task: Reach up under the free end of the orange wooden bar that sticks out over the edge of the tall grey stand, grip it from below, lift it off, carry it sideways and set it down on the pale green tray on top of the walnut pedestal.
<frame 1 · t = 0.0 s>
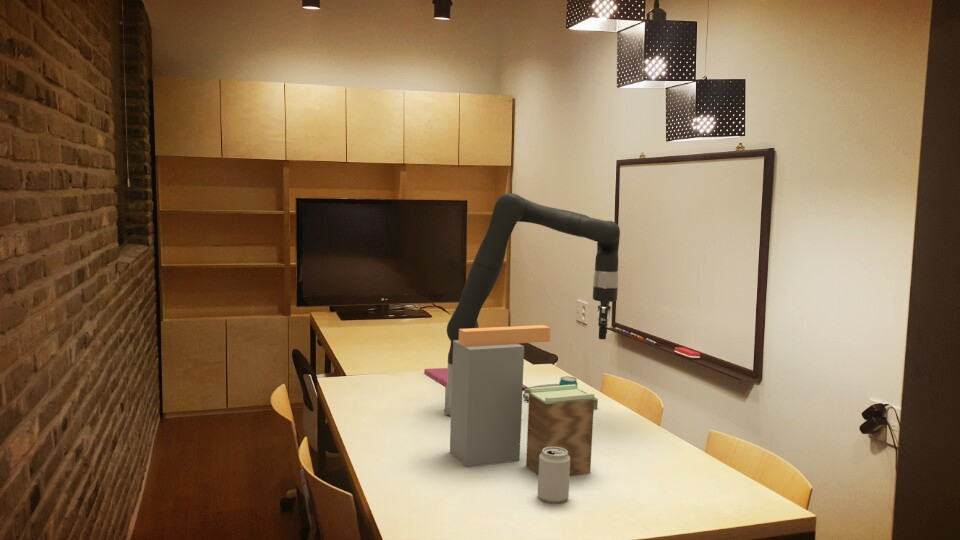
hand: (602, 336, 230), 29 cm above the table, tool pointing down, fingers open, 8 cm apart
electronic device: (557, 405, 258), on the table
grey stand: (484, 456, 205), on the table
green tray: (561, 396, 195), resting on walnut pedestal
orange wooden bar: (504, 342, 203), point 32 cm above the table, touching grey stand
can: (552, 498, 179), on the table
beverage can: (566, 424, 235), on the table
walnut pedestal: (557, 469, 197), on the table
thin magenta plate: (476, 384, 282), on the table
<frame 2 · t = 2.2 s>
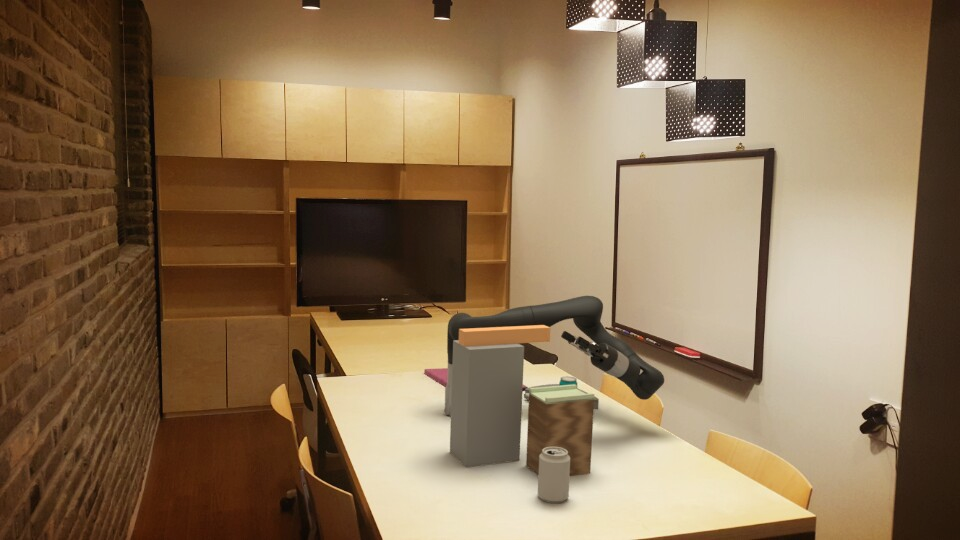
hand: (570, 336, 214), 32 cm above the table, tool pointing upward, fingers open, 8 cm apart
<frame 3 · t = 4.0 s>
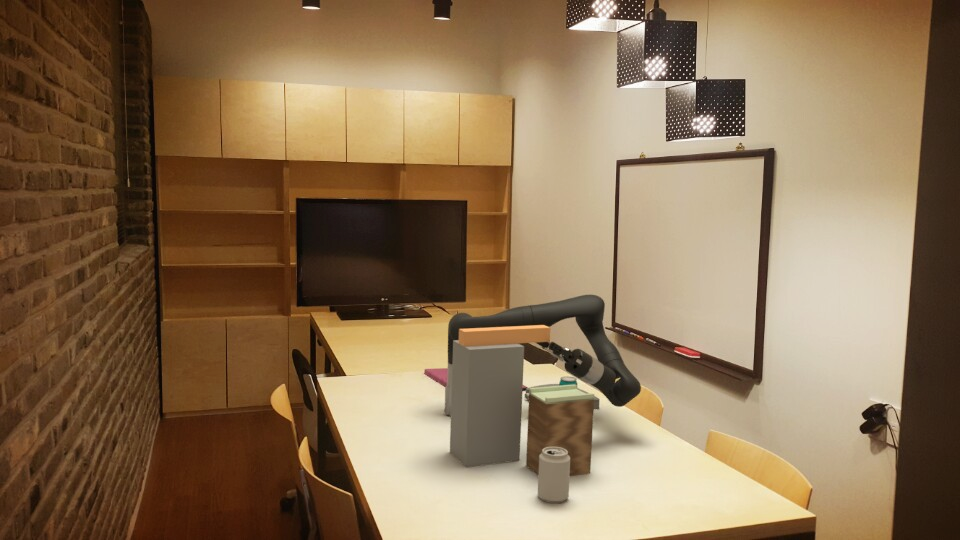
hand: (543, 341, 208), 32 cm above the table, tool pointing upward, fingers open, 8 cm apart
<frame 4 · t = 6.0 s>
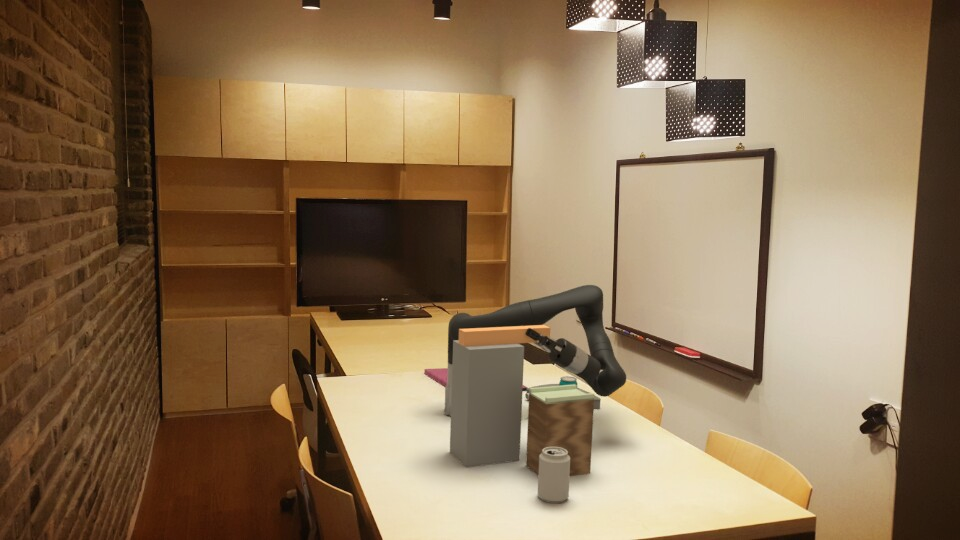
hand: (523, 329, 205), 35 cm above the table, tool pointing upward, fingers closed on orange wooden bar, 4 cm apart
orange wooden bar: (504, 342, 203), point 32 cm above the table, touching grey stand, gripper
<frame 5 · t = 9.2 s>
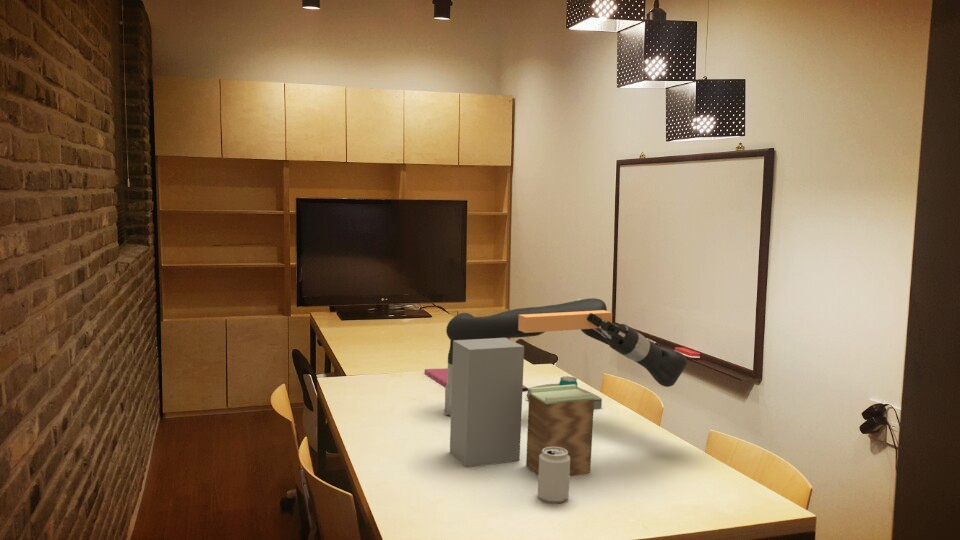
hand: (584, 315, 195), 42 cm above the table, tool pointing upward, fingers closed on orange wooden bar, 4 cm apart
orange wooden bar: (565, 328, 193), point 38 cm above the table, touching gripper
when the fingers open (26 cm above the table, at t = 12.7 s): orange wooden bar drops 2 cm, resting on green tray.
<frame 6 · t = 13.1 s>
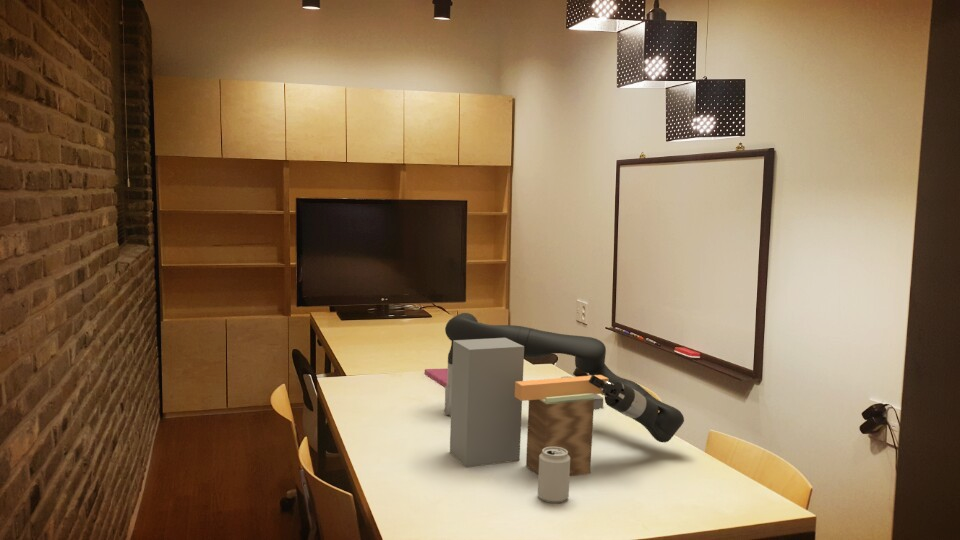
hand: (582, 374, 196), 26 cm above the table, tool pointing upward, fingers open, 8 cm apart
orange wooden bar: (562, 394, 195), point 20 cm above the table, touching green tray
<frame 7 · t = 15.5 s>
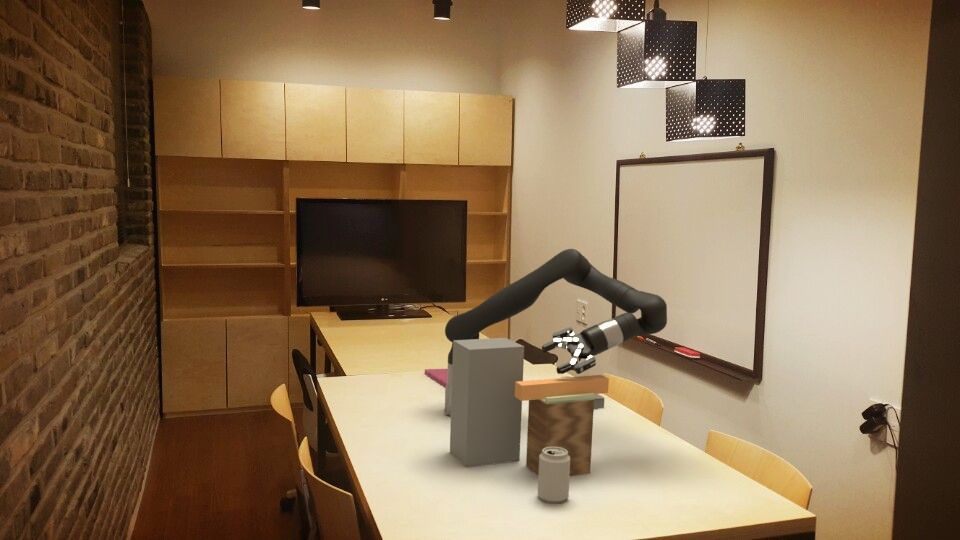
hand: (549, 360, 197), 29 cm above the table, tool tilted 70°, fingers open, 8 cm apart
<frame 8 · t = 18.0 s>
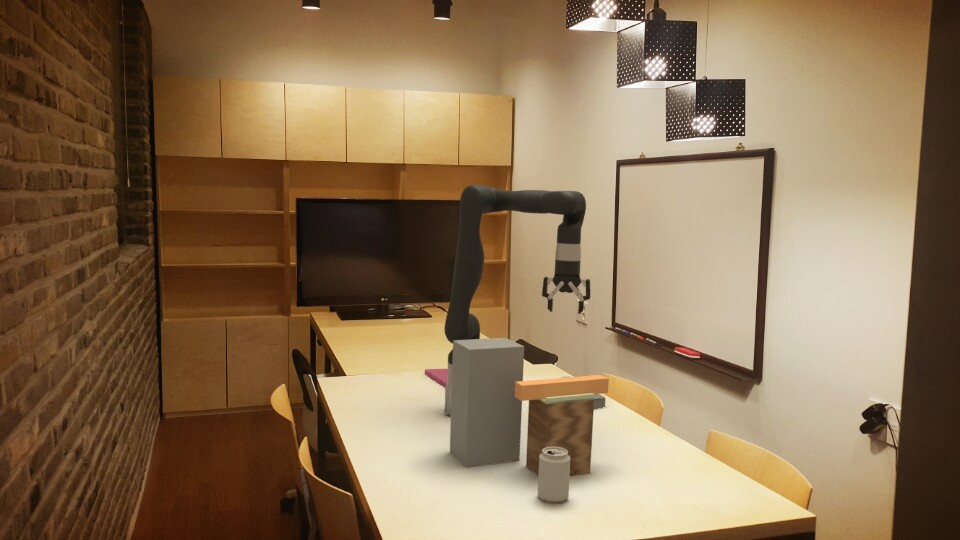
hand: (565, 312, 220), 38 cm above the table, tool pointing down, fingers open, 8 cm apart
at the end: orange wooden bar inside the target area on the green tray (0.2 cm from its centre), point 0.5 cm above the green tray's base; orange wooden bar touching green tray; the gripper is holding nothing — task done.
